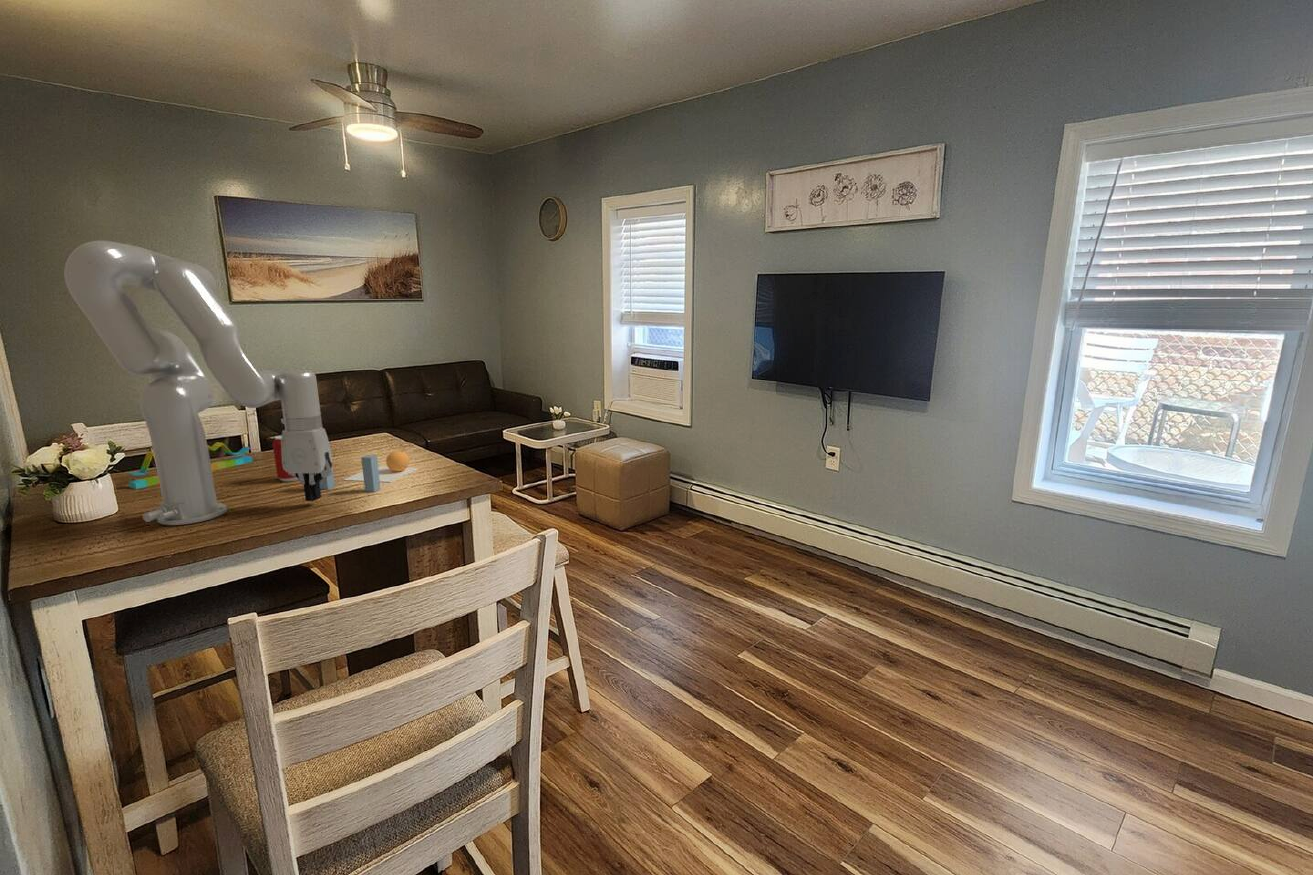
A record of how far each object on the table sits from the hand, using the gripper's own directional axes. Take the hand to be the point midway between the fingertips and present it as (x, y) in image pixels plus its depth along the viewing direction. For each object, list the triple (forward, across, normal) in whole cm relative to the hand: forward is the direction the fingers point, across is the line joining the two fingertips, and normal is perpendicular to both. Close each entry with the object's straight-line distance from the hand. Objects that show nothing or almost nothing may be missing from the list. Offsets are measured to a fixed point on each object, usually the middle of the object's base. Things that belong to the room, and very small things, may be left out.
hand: (313, 499), depth 145 cm
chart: (+2, -54, +20) cm, 57 cm away
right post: (+2, +7, +13) cm, 15 cm away
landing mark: (+2, 0, +27) cm, 27 cm away
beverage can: (+2, -22, +19) cm, 29 cm away
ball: (-2, +3, +30) cm, 31 cm away
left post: (+2, -7, +13) cm, 15 cm away
